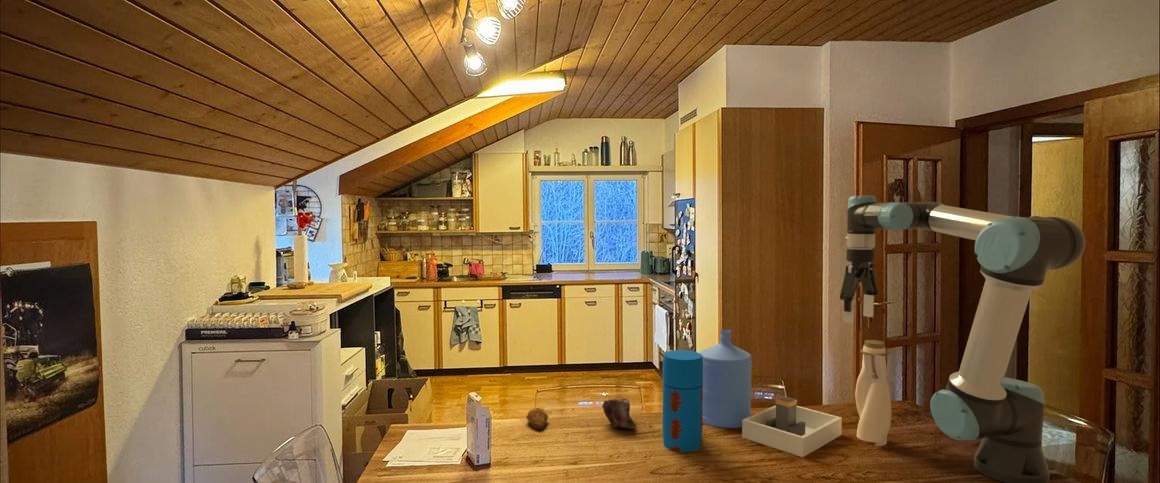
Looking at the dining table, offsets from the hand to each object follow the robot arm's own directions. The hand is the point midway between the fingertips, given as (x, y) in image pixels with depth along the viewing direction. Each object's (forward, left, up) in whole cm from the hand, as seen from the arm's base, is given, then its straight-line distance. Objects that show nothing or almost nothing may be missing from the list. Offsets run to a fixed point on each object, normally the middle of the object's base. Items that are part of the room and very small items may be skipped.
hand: (858, 319), depth 180 cm
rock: (+48, +53, -32) cm, 78 cm away
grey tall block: (+9, +25, -31) cm, 41 cm away
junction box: (+7, +25, -32) cm, 41 cm away
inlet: (+9, +25, -31) cm, 41 cm away
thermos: (+26, +50, -32) cm, 65 cm away
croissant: (+66, +70, -32) cm, 101 cm away
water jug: (+28, +27, -32) cm, 50 cm away
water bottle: (-9, +10, -32) cm, 35 cm away
